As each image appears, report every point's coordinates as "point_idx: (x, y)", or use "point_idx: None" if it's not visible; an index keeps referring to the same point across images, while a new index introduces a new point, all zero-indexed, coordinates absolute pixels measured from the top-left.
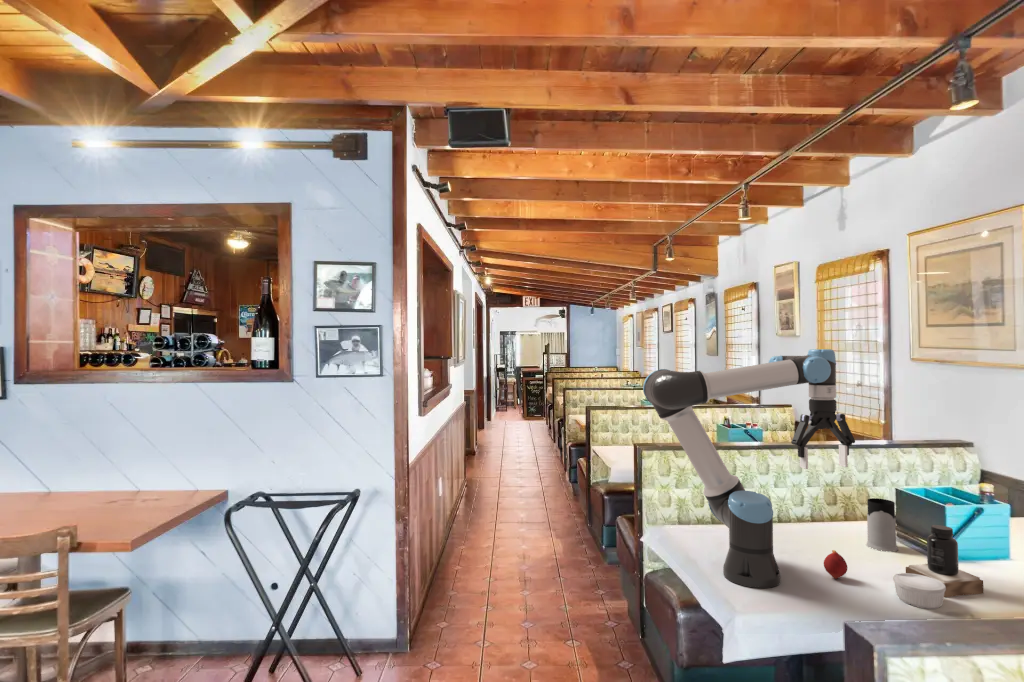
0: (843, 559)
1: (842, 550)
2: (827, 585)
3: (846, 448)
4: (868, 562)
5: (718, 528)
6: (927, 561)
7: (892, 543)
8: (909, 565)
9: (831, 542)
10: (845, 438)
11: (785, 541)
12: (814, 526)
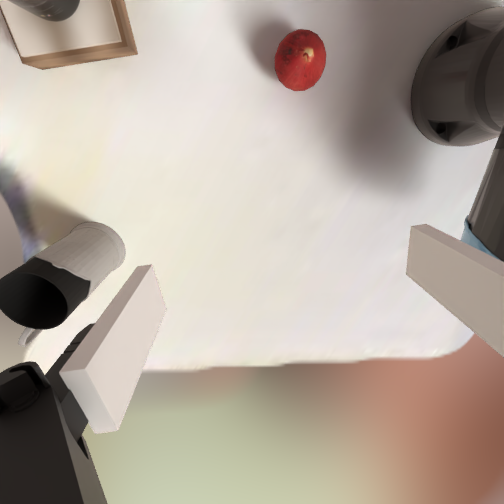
0: (291, 40)
1: (188, 232)
2: (336, 25)
3: (83, 349)
4: (169, 162)
5: (357, 345)
6: (69, 2)
7: (76, 231)
8: (118, 38)
9: (187, 274)
10: (14, 466)
11: (274, 281)
12: (175, 353)
